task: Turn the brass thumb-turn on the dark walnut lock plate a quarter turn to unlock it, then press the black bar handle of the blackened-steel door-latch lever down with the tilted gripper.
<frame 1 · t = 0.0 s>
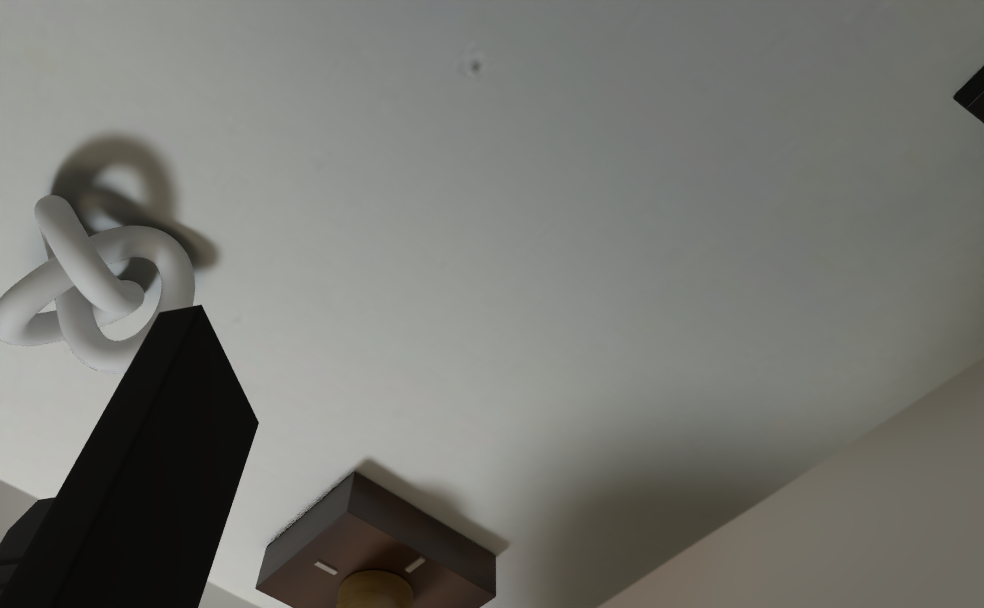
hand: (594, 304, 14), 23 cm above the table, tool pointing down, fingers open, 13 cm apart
lock plate: (381, 551, 52), on the table
knot: (129, 254, 40), on the table
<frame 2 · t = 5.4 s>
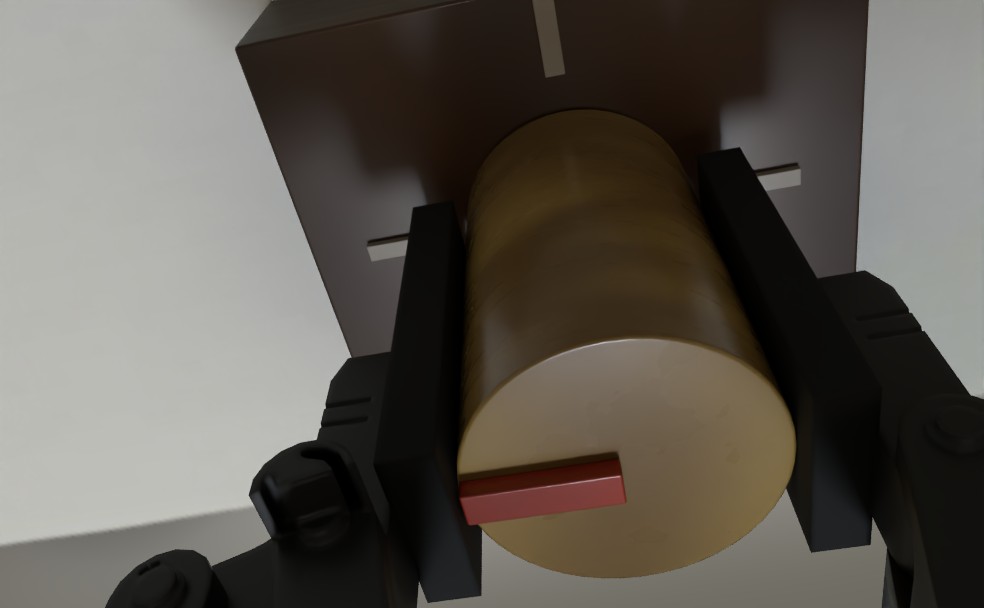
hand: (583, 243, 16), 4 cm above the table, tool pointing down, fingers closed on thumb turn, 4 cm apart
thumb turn: (597, 321, 14), point 7 cm above the table, hinge at -0.1°, touching gripper
lock plate: (566, 150, 19), on the table
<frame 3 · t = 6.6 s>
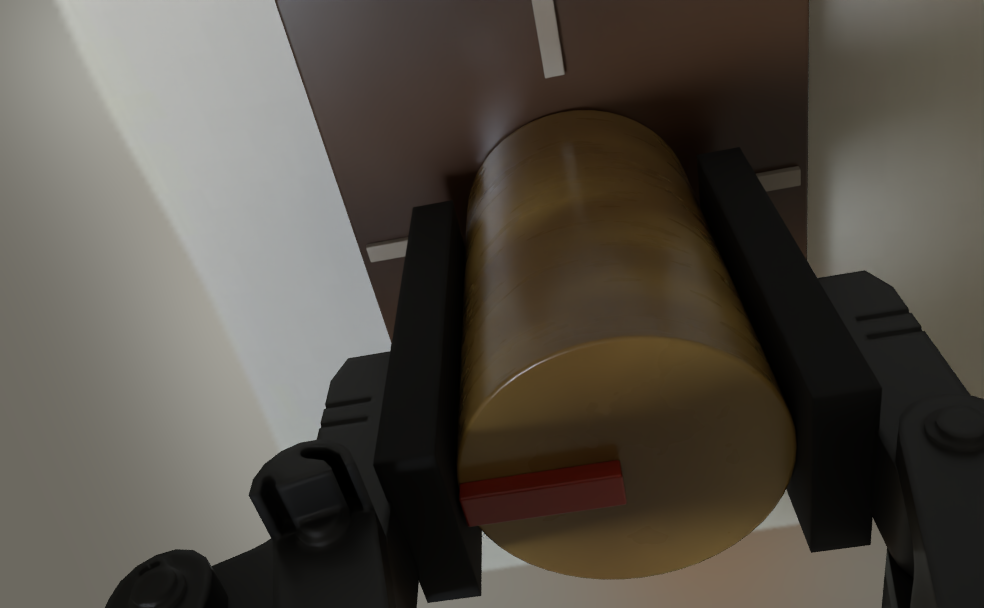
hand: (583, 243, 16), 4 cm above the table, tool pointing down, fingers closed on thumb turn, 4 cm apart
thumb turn: (597, 322, 14), point 7 cm above the table, hinge at 90.1°, touching gripper
lock plate: (566, 150, 19), on the table
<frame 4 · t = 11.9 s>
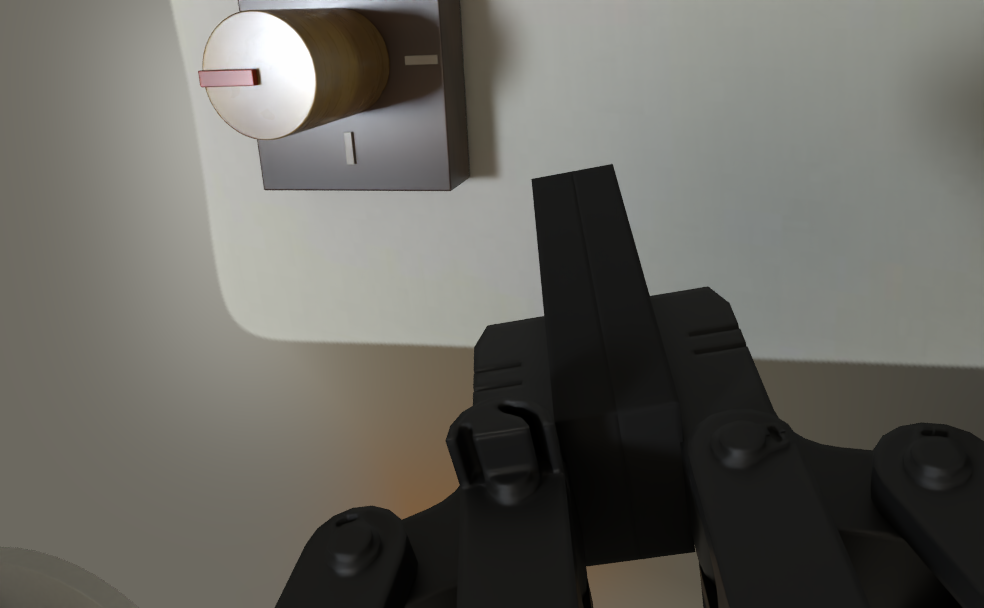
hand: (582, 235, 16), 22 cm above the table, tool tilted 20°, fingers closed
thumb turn: (302, 69, 32), point 7 cm above the table, hinge at 89.8°
lock plate: (368, 58, 38), on the table
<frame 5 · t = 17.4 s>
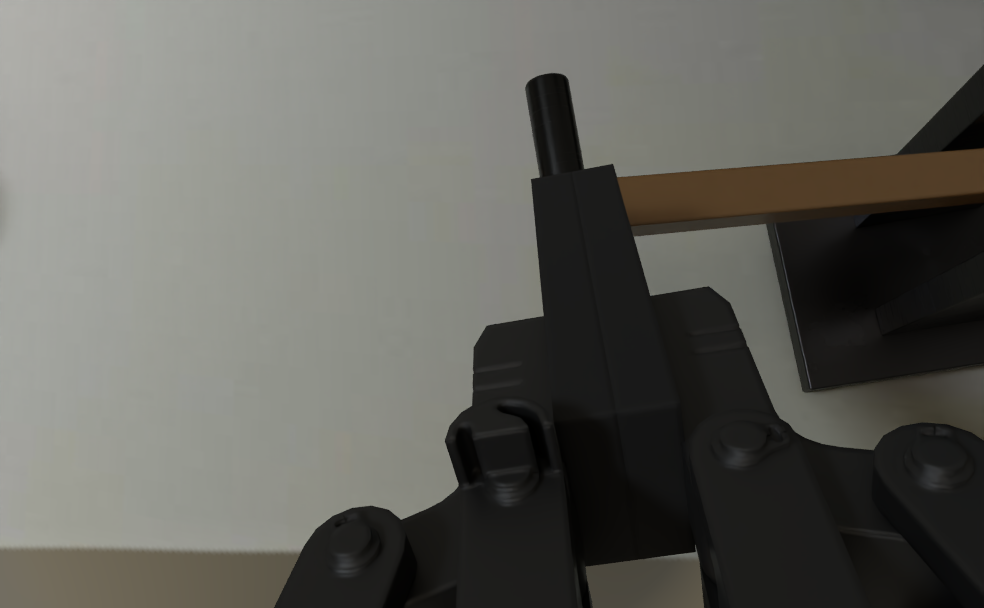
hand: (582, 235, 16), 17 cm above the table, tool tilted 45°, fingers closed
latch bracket: (916, 264, 31), on the table
door lever: (857, 187, 19), point 13 cm above the table, hinge at 18.4°
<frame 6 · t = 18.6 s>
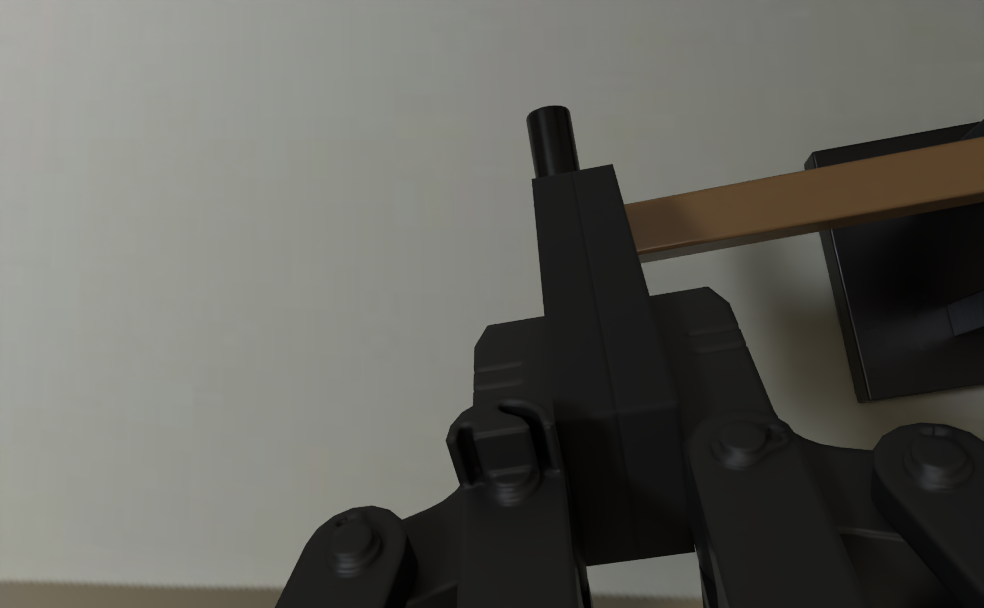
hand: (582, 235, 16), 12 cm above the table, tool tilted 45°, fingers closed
door lever: (915, 182, 17), point 11 cm above the table, hinge at -2.1°, touching gripper
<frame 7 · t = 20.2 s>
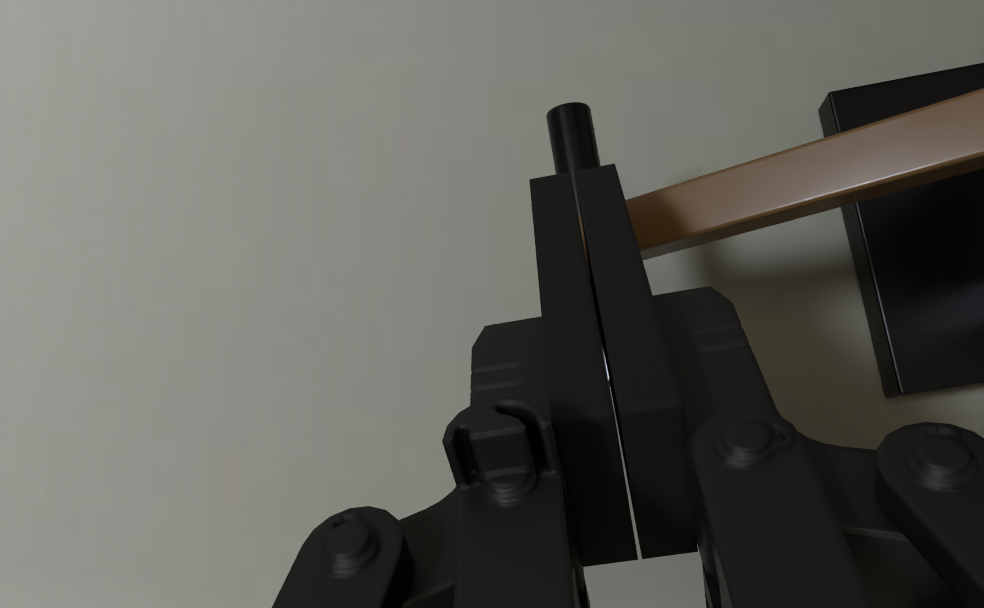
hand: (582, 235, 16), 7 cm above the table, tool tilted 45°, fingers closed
door lever: (959, 136, 14), point 8 cm above the table, hinge at -24.7°, touching gripper
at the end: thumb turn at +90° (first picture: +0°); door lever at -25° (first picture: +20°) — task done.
